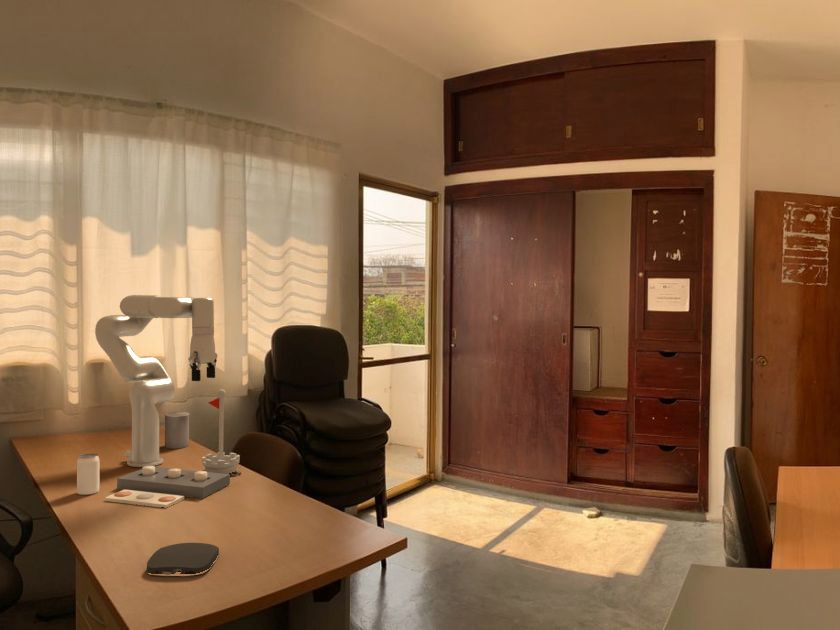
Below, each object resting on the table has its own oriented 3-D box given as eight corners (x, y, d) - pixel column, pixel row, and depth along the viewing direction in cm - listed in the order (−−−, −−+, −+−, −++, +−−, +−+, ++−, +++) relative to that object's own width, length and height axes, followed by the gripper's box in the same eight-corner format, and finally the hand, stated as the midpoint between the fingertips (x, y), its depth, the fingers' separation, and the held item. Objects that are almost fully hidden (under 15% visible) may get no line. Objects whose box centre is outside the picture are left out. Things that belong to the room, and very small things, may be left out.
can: (90, 496, 207) (90, 458, 207) (72, 494, 209) (72, 457, 208) (103, 490, 214) (103, 453, 213) (86, 488, 215) (86, 452, 214)
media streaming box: (222, 553, 165) (222, 541, 165) (205, 578, 151) (205, 565, 151) (164, 553, 165) (164, 541, 165) (141, 578, 150) (141, 565, 150)
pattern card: (104, 500, 203) (104, 497, 203) (124, 492, 212) (124, 488, 212) (166, 508, 197) (166, 504, 197) (184, 499, 206) (184, 495, 206)
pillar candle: (165, 443, 279) (165, 409, 279) (189, 442, 282) (189, 408, 281) (163, 449, 270) (163, 413, 269) (188, 448, 273) (189, 412, 272)
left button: (139, 477, 220) (139, 468, 220) (147, 474, 224) (147, 465, 224) (149, 478, 219) (150, 469, 219) (157, 475, 223) (157, 466, 223)
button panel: (117, 488, 215) (117, 478, 215) (148, 476, 231) (148, 466, 231) (202, 498, 207) (203, 487, 207) (229, 484, 223) (229, 474, 223)
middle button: (165, 480, 218) (165, 471, 217) (172, 477, 221) (172, 468, 221) (175, 481, 217) (176, 472, 216) (183, 478, 220) (183, 469, 220)
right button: (191, 483, 215) (192, 473, 215) (198, 480, 219) (199, 470, 219) (202, 484, 214) (202, 474, 214) (209, 481, 218) (209, 471, 218)
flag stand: (244, 467, 245) (245, 387, 244) (231, 476, 232) (232, 392, 231) (211, 465, 246) (211, 386, 246) (195, 475, 233) (196, 391, 233)
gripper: (206, 330, 245) (207, 376, 245) (179, 333, 228) (180, 382, 228) (224, 330, 243) (225, 376, 243) (199, 333, 226) (199, 382, 227)
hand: (203, 379), depth 236 cm, fingers open, 9 cm apart
